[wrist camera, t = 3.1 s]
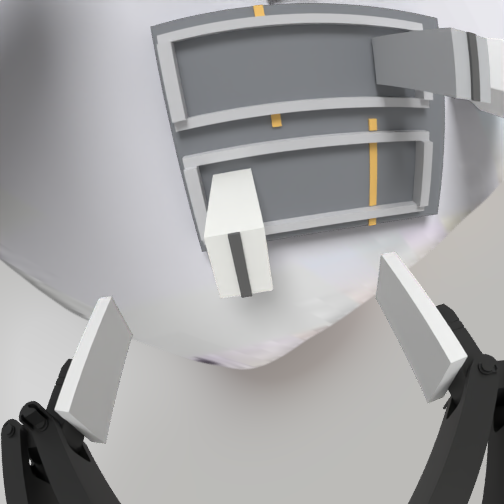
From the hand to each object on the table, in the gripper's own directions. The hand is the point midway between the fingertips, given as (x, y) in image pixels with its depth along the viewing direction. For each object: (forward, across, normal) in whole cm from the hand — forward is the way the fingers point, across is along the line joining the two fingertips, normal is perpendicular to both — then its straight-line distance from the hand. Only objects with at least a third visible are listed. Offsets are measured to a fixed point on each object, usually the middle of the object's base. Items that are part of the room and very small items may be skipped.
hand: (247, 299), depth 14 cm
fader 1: (+13, 0, 0) cm, 13 cm away
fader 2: (+13, +14, +10) cm, 21 cm away
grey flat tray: (+15, +8, +6) cm, 17 cm away
